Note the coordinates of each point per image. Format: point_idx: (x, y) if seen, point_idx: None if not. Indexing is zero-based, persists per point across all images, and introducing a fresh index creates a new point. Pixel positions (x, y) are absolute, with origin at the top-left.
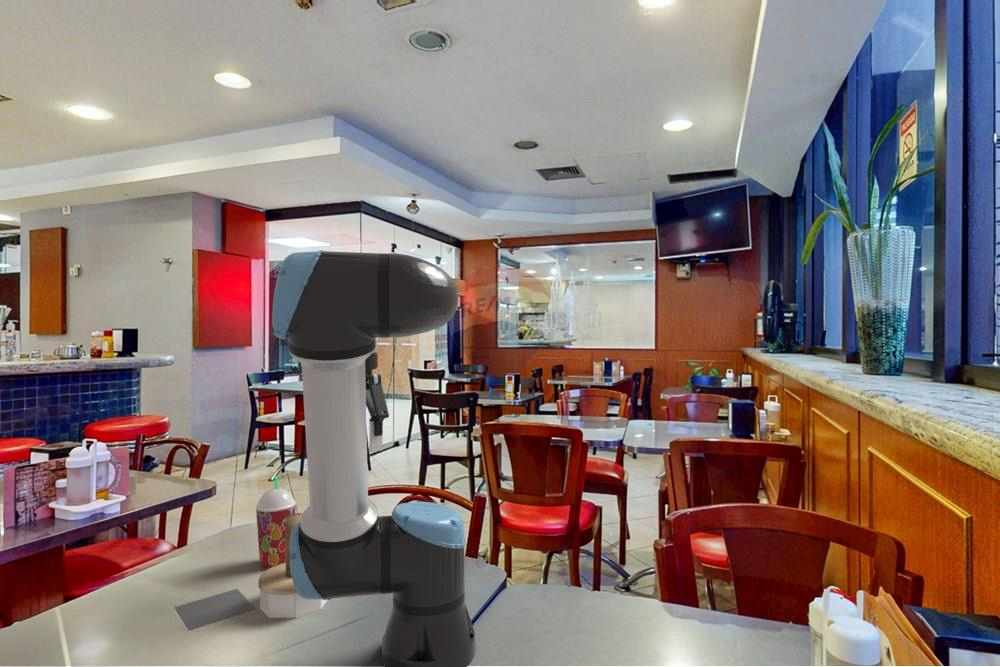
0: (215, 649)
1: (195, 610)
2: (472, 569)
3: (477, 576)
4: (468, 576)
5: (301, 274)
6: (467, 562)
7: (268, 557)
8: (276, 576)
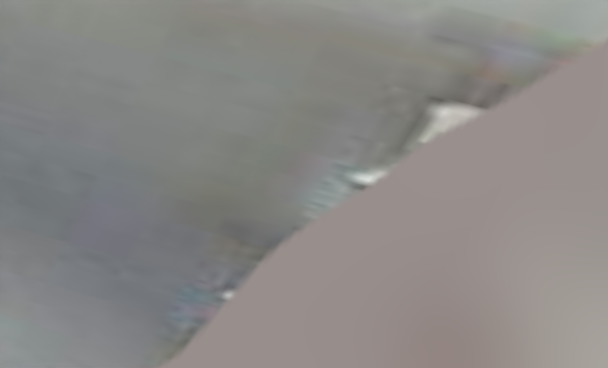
0: None
1: None
2: (61, 356)
3: (4, 352)
4: (15, 331)
5: None
6: (119, 359)
7: None
8: None
